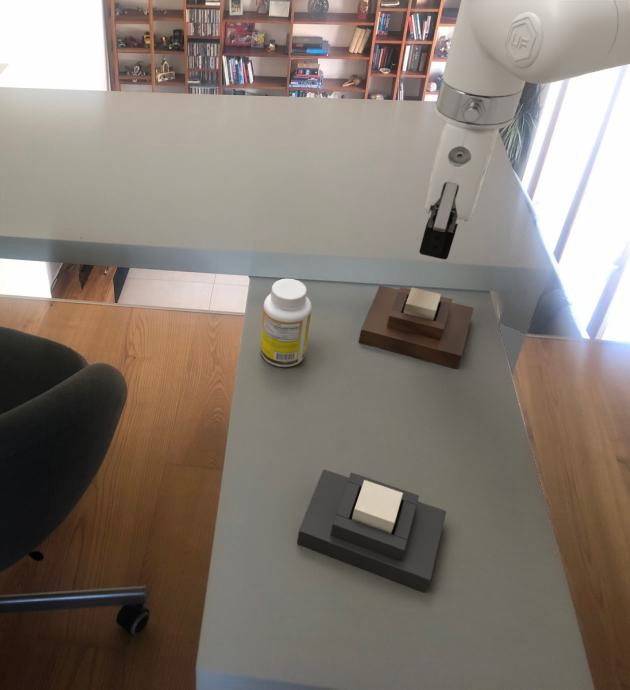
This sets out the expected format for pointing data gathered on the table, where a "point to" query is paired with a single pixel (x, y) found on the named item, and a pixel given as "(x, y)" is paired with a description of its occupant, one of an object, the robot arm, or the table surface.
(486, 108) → the robot arm
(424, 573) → the stepped wall plate
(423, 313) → the far key
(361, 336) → the brown stepped switch base
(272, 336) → the supplement bottle
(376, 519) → the near key
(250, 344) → the table surface
